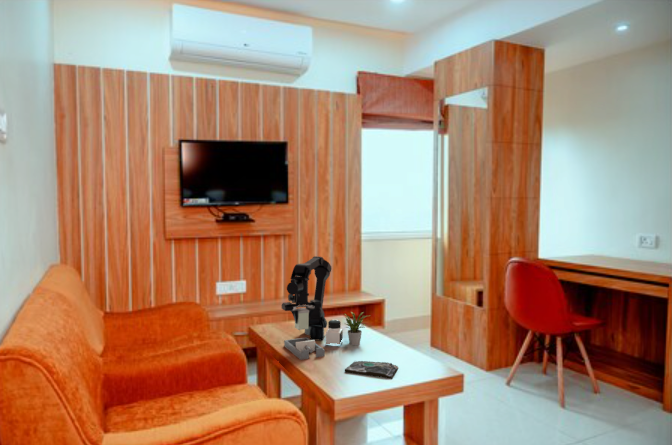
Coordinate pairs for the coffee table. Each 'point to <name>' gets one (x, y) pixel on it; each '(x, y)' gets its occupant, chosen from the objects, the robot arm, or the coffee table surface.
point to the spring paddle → (306, 345)
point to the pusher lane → (305, 353)
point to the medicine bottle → (334, 332)
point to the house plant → (354, 329)
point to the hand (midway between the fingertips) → (301, 322)
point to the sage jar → (302, 319)
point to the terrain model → (372, 369)
